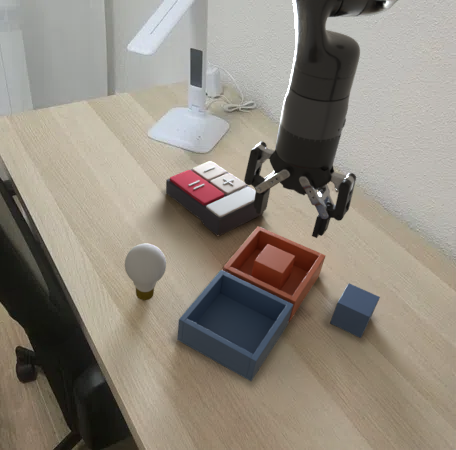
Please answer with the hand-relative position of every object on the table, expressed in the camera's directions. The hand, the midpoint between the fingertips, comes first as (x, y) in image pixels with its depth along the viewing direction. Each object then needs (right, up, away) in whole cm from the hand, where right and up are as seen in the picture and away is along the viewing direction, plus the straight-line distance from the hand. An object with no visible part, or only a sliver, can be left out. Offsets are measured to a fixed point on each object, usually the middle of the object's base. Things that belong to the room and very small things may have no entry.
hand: (288, 222), depth 78 cm
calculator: (-8, +3, +23) cm, 24 cm away
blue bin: (-8, -16, 0) cm, 17 cm away
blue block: (+10, -14, +3) cm, 18 cm away
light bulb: (-20, -11, +5) cm, 24 cm away
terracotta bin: (-1, -9, +8) cm, 12 cm away
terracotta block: (-1, -9, +8) cm, 12 cm away
